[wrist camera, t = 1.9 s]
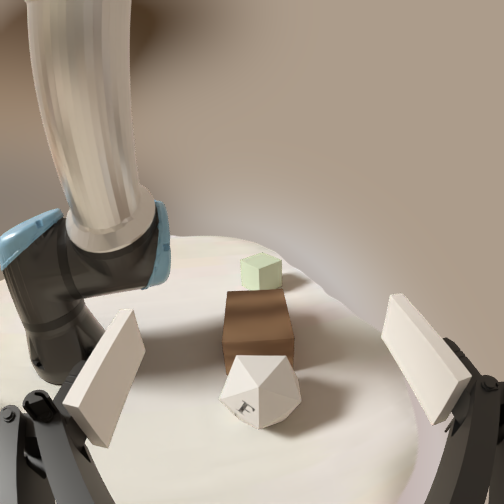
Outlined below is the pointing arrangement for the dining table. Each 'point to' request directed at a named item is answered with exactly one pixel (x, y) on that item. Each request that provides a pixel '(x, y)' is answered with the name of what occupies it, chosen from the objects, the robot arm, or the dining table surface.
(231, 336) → the plinth
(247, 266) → the green cube
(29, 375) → the dining table surface
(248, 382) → the die
